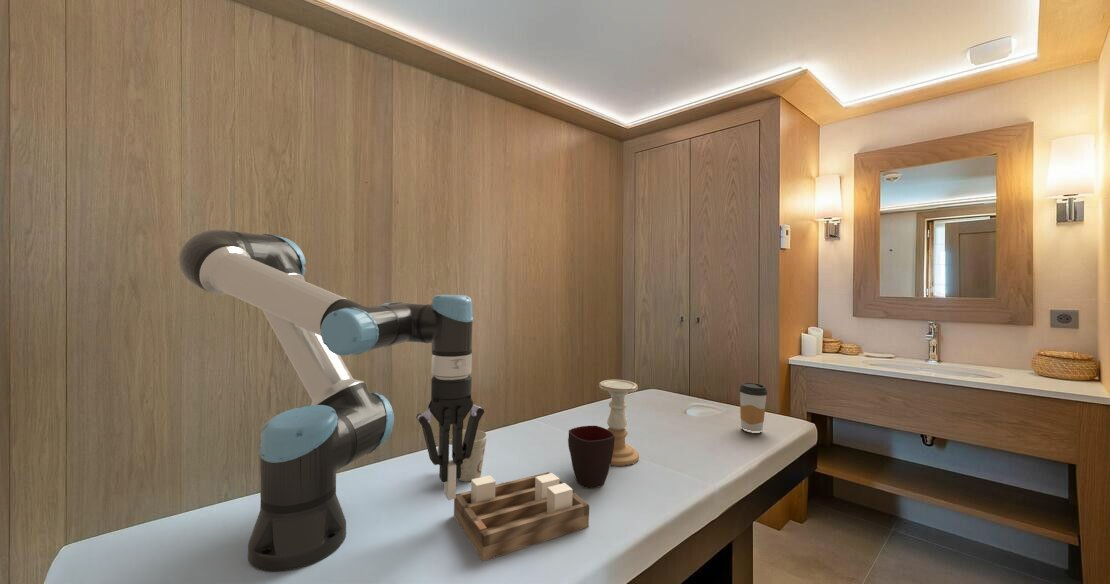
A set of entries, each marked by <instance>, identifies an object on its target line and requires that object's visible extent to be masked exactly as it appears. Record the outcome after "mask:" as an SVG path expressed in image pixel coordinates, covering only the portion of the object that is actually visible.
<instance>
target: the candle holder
mask: <svg viewBox="0 0 1110 584" xmlns="http://www.w3.org/2000/svg"><path fill="white" fill-rule="evenodd" d="M598 386H599V388H600V389H601V390H604V391H606V392H608V393H609V395H610V397H611V401H609V402H608V407H609V408H610V409H609V410H610V411H609V414H608V417H607V422H606V423H607V426H608V428H606V429H607V430H609V431H610V432H612V433H613V434H614V436H615V441H614V450H613V456H612V460H611V464H610V466H613V467H614V466H615V467H616V466H617V467H626V466H625V465H627V466H631V465H630V464H632V465H634V464H636V463H637V462H638V461H639V459H640V453H639V451H638V450H636V449H635V448H634V447H632V446H631V445H630V444H628V443H626V437H627V436H628V434H629V433H628V430H627V429H626V427H627V426H628V419H627V416H626V409H627V407H628V404H627V403H626V401H625V398H626V396H627V395H628V394H629V393H633V392H635V391H637V390H638V388H639V385H638V384H637V383H635V382H634V381H630V380H623V379H605V380H602V381H600V382H599V384H598ZM635 462H636V463H635ZM633 463H634V464H633Z"/></svg>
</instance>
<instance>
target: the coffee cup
mask: <svg viewBox="0 0 1110 584" xmlns="http://www.w3.org/2000/svg"><path fill="white" fill-rule="evenodd" d="M740 385H741V386H740V387H739V398H740V399H739V401H740V404H739V411H740V413H739V414H740V428H741V427H742V428H744V429H747V430H751V431H761V430H762V431H763V429H764V428H763V427H764V421H765V412H766V404H767V403H766V401H767V395H768V389H767V387H766V385H764V384H762V383H756V382H742V383H741V384H740ZM742 428H741V429H742Z"/></svg>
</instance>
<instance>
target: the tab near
mask: <svg viewBox="0 0 1110 584" xmlns="http://www.w3.org/2000/svg"><path fill="white" fill-rule="evenodd" d="M573 492H574V491H573V488H572V487H571V486H570V485H568V484H567V483H565V482H562V484H558V485H554V486H550V487H547V513H552V512H555V511H558V510H562V509H565V508H569V507H572V496H573Z"/></svg>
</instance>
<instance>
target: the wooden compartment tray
mask: <svg viewBox="0 0 1110 584" xmlns="http://www.w3.org/2000/svg"><path fill="white" fill-rule="evenodd" d="M550 473H551V472H549V471H548V472H543V473H539V474H536V475H532V476H527V477H523V478H519V479H518V478H517V479H514V480H511V481H506V482H501V483H497V484H495V498H493V499H489V500H485V501H481V502H477V503H473V504H471V490H468V491H465V492H460V493H456V498H455V499H453V517H454V519H455V520H456V522H457V523H458V524H459V526H460V527H461V529H462V531H463V533H464V534H465V536H466V538H467V539H468V540H469V541H470V543H471V545H472V546H473V548H474V549H475V551H476V553H477V554H478V556H479V557H480V559H481V560H482V562H484V561H485V562H486V561H488V560H492V559H495V558H498V557H500V556H504V555H507V554H509V553H512V552H515V551H518V550H520V549H521V550H522V549H524V548H527V547H531V546H533V545H537V544H540V543H543V542H546V541H549V540H552V539H554V538H559V537H562V536H565V535H566V534H571V533H574V532H576V531H580V530H582V529H585V528H589V526H590V525H589V523H590V521H589V520H590V504H589V503H588V502H586V500H584V499H583V498H582V497H580V496H579V495H578V494H577V493H576V492H574V491H573V496H572V507H569V508H565V509H562V510H558V511H555V512H552V513H547V498H546V499H543V500H539V501H535V477H537V476H541V475H546V474H550ZM562 483H563V482H562V481H560V480H559V484H562Z"/></svg>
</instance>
